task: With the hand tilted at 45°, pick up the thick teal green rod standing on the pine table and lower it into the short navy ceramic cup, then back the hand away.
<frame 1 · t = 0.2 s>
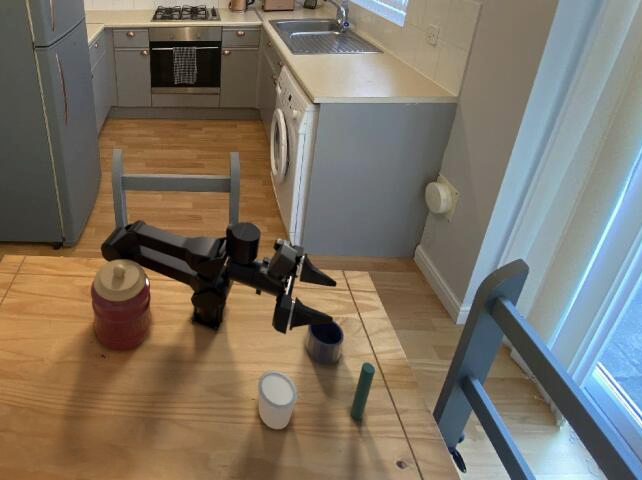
hand: (334, 301, 81), 17 cm above the table, tool horizontal, fingers open, 9 cm apart
white cylindrical container: (274, 413, 79), on the table
kitchen canister: (123, 325, 96), on the table
cup: (322, 348, 90), on the table
teal green rod: (356, 414, 78), on the table
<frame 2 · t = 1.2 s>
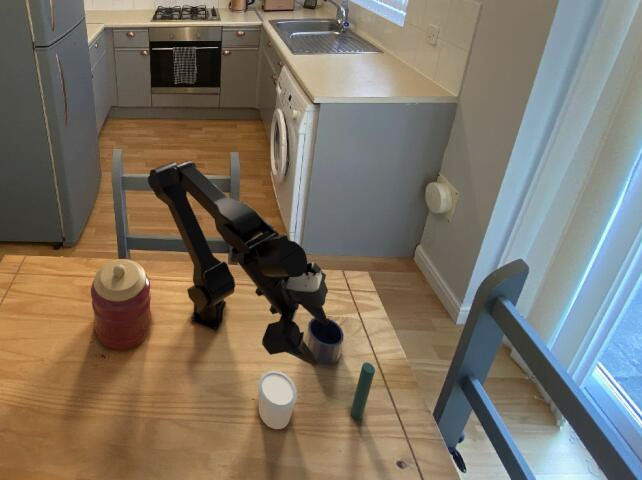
hand: (321, 343, 77), 14 cm above the table, tool tilted 45°, fingers open, 9 cm apart
nothing on the table moved.
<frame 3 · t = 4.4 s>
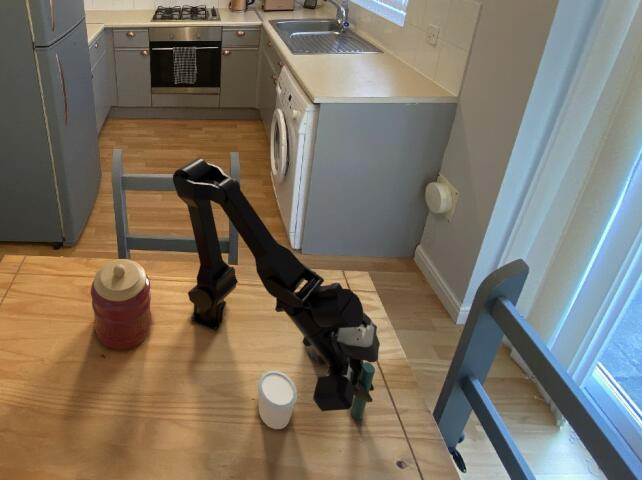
hand: (370, 395, 75), 7 cm above the table, tool tilted 45°, fingers closed on teal green rod, 2 cm apart
teal green rod: (356, 414, 78), on the table, touching gripper
everything else where it was.
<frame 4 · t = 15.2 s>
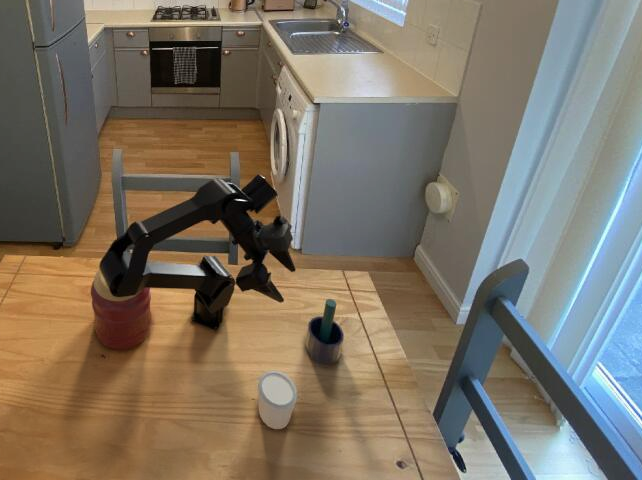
hand: (288, 285, 89), 14 cm above the table, tool tilted 45°, fingers open, 9 cm apart
cup: (322, 348, 90), on the table, touching teal green rod
teal green rod: (322, 346, 90), point 1 cm above the table, touching cup
everything else where it was.
at the end: teal green rod 0.0 cm off-centre in the cup, point 0.6 cm above the cup's base; the gripper is holding nothing; cup tilted 0° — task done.
